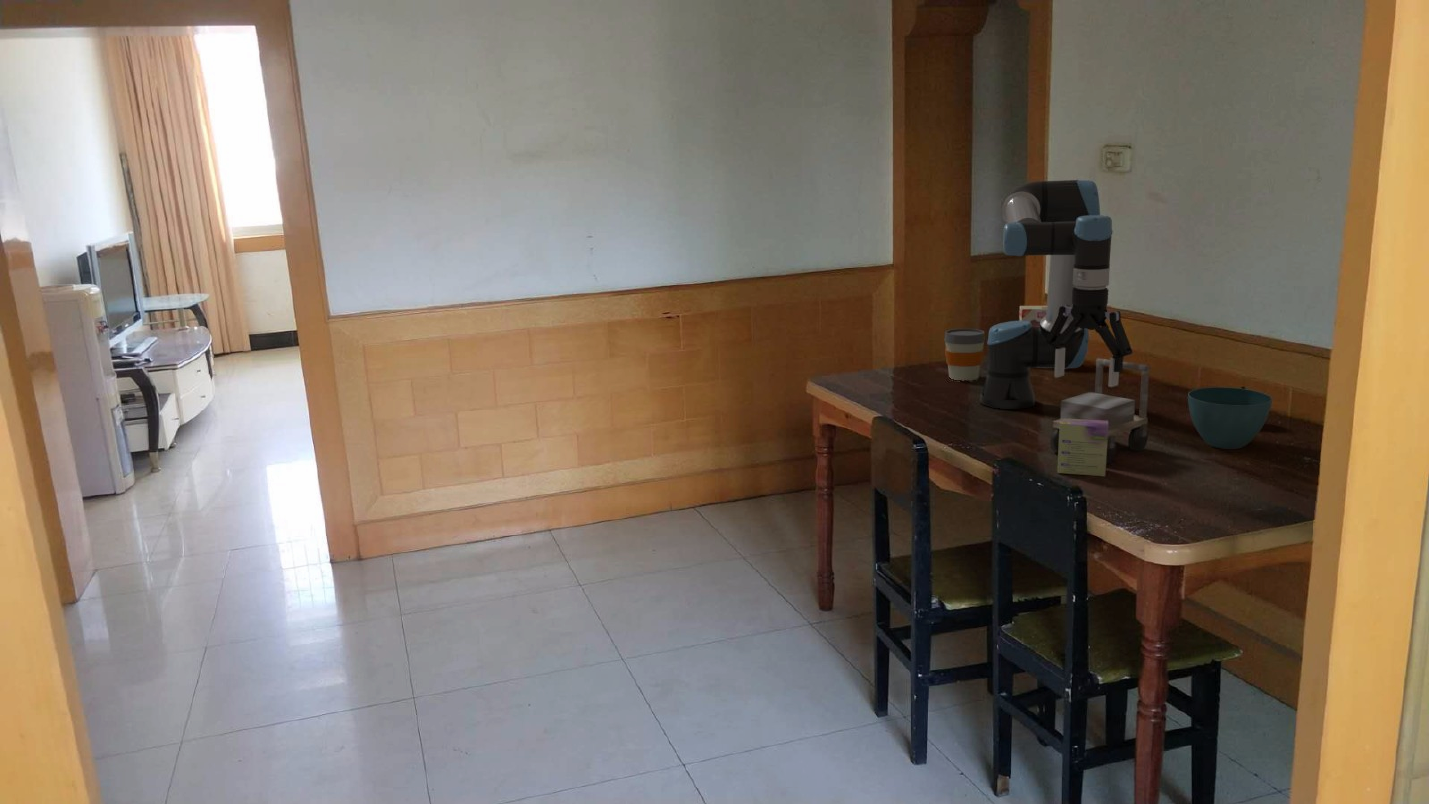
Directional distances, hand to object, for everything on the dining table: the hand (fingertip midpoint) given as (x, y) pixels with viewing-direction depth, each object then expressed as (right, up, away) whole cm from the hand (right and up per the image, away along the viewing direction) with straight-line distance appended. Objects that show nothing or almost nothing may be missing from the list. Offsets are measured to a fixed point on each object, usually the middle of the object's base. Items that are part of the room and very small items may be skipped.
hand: (1085, 381), depth 237 cm
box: (0, -21, +3) cm, 21 cm away
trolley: (+9, -17, +17) cm, 26 cm away
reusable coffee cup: (-4, +3, +98) cm, 98 cm away
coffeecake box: (+25, +7, +113) cm, 116 cm away
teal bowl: (+41, -15, +19) cm, 48 cm away
